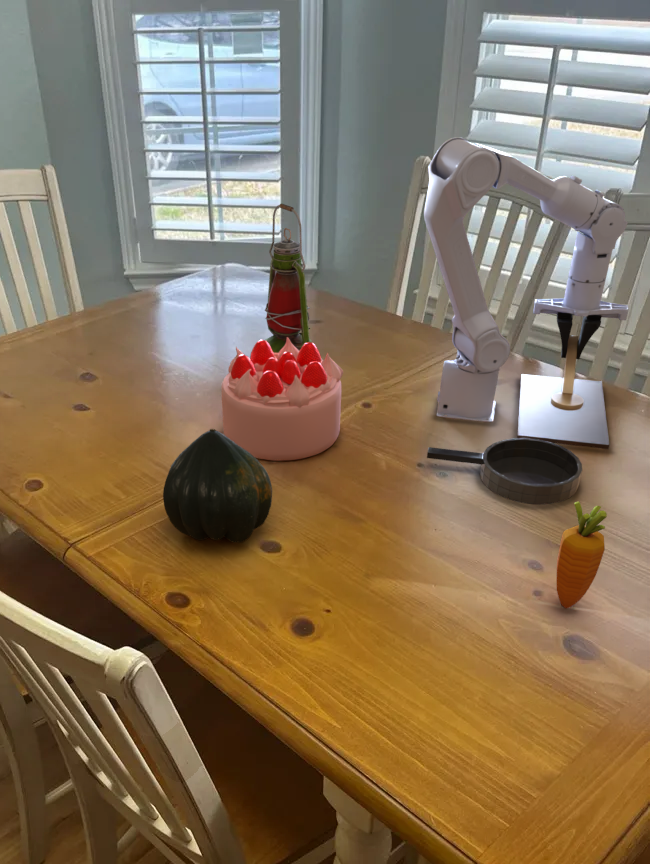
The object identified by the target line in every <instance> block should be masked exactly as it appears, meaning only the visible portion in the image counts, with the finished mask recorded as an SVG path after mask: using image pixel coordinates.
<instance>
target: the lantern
mask: <svg viewBox="0 0 650 864" xmlns="http://www.w3.org/2000/svg"><path fill="white" fill-rule="evenodd" d="M279 208H281V210H286V211H287V212H291V213H294V215H295V217H296V219H297V222H298V230H299V231H298V232H299V233H298V235H299V236H298V237H299V242H298V241H295V240H293V239H292V231H291V229H290V228H287V227H285V228H284V229H283V237H284V238H285V239H282V240H280V241H278V242H275V233H276V230H275V229H276V212H277V211H278V209H279ZM286 230H287V231H288V232H289V237H287V236H286ZM302 232H303V231H302V221H301V218H300V216H299V214H298V212H297V211H296V210H295V208H294V207H293V206H291V205H287V204H285V203H280V204H278V205H277V206H276V207H274V210H273V214H272V236H271V237H272V240H271V245H270V247H269V250H268V252H269V255H270V258H271V260H270V265H269V279H268V291H267V293H268V294H267V302H266V305H265V308H264V311H265V312H266V316H265V318H264V320H266V324H267V329H268V331H269V332H270V333H271V334H272V335H271V336H269V337H267V338H265V339H264V340H265V341H267V342H268V343H269V345H270V346H271V348H272V350H273V353H279V351H280V350H281V349H282V348H283V347H284V346H285V344H286V341H287V337H288V338H289V339H290V341H291V343H292V344H293V345H294V346H295V347H296V348H297V349H298V350H299V351H300V349H301V347H302V346H303V345H304V344H305V343H307V342H312V343H314V342H313V340H311V339H310V330H311V328H310V327H309V321H310V314H309V311H308V310H310V309H311V306H309V305H308V301H307V287H306V286H307V285H306V274H305V269H306V263H305V259H304V255H303V239H302V238H303V235H302ZM272 251H273V252H272Z"/></svg>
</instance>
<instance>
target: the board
mask: <svg viewBox="0 0 650 864" xmlns="http://www.w3.org/2000/svg"><path fill="white" fill-rule="evenodd" d="M563 378H564V377H557V376H548V375H547V376H546V375H537V374H536V375H534V374H524V373H522V374H520V380H519V397H518V398H519V401H518V416H517V418H518V419H517V434H516V438H531V439H539V440H544V441H548V442H552V443H555V444H557V445H567V446H575V447H584V448H585V447H586V448H595V449H602V450H603V449H604V450H609V448H610V437H609V430H608V422H607V413H606V405H605V397H604V388H603V381H602V380H601V381H600V380H590V379H579V378H574V387H573V394H576V395H579V396H580V397H582V398H583V400H584V403H583V406H582V408H581V409H578V410H573V411H568V410H562V409H558V408H556V407H554V406H553V405H552V404H551V398H552V396H553V395H554V394H556V393H561V392H562V387H563Z"/></svg>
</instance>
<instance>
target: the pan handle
mask: <svg viewBox="0 0 650 864" xmlns="http://www.w3.org/2000/svg"><path fill="white" fill-rule="evenodd" d="M483 453H484V452H477V451H465V450H457V449H450V448H449V449H447V448H440V447H432V446H428V448H427V452H426V458H427V459H431V460H439V461H449V462H458V463H466V464H474V465H481V464H482V459H483Z"/></svg>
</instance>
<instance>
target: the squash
mask: <svg viewBox="0 0 650 864" xmlns="http://www.w3.org/2000/svg"><path fill="white" fill-rule="evenodd" d="M162 499H163V506H164V511H165V513H166V515H167V518H168V519H169V521H170V523H171V524H172V526H173V527H174V528H175V529H176V530H177V531H179V532H180V533H182V534H184V535H186V536H190V537H191V538H193V539H194V540H197V541H204V540H206V539H208V538H210V539H211V540H215V541H218V540H222V539H223V538H225V539H226V540H228V541H230V542H232V543H243V542H246V541H247V540H248V539H249V538H250V537H251V535H252V533H253V532H254V530H256V529H258V528H260V527H261V526H262V525H263V524H264V523H265V522H266V520H267V518H268V516H269V514H270V510H271V507H272V501H273V487H272V482H271V479H270V475H269V474H268V471H267V470H266V468H265V467H264V466H263V465H262V464H261V462H260V461H259V460H258V458H255V457H254V456H253V455H252V454H250V453H249V452H248V451H246V450H245V449H243V448H242V447H240V446H239V445H237V444H236V443H234V442H233V441H232V440H230V439H229V438H228V437H227V436H225V435H224V433H222V432H220V431H218V430H216V429H215V428H210V429H209V430H207V431H205V432H204V433H202V434H201V435H199V436H198V437H197V438H196V439H195V440H193V442H191V443H190V444H189V445H188V446H187V447H185V448H184V449H183V451H181V453H179V455H177V457H176V458H175V459H174V461H173V462H172V464H171V465H170V468H169V470H168V472H167V476H166V478H165V481H164V486H163V491H162Z"/></svg>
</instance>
